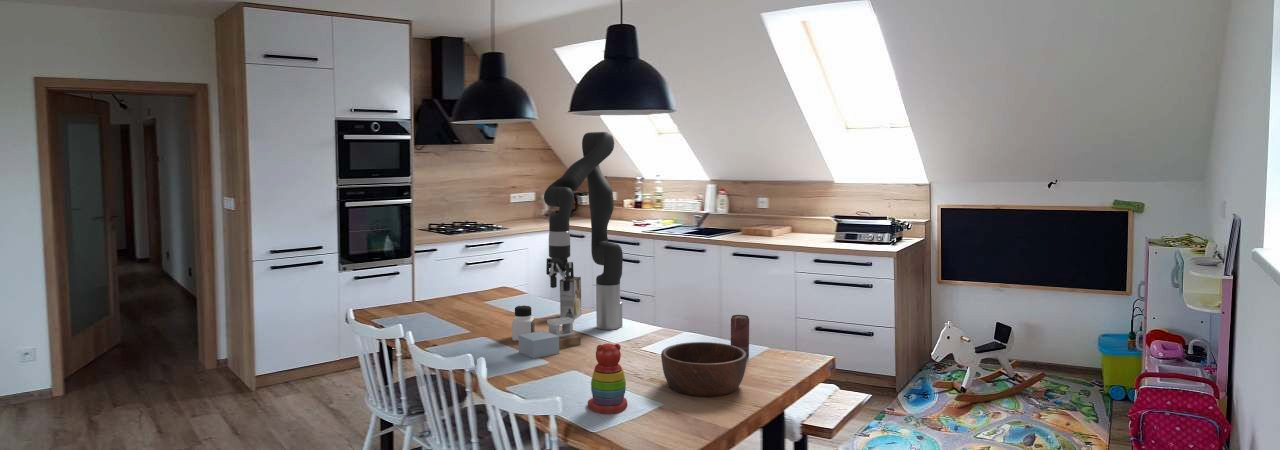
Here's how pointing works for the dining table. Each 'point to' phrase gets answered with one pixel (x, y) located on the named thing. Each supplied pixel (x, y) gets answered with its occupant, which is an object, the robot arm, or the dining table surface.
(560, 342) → the stand
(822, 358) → the dining table surface
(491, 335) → the dining table surface
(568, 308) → the coffee box
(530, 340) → the stand
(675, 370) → the wooden bowl
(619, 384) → the stacking bear
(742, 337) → the can
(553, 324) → the housing
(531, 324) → the medicine bottle
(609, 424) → the dining table surface
